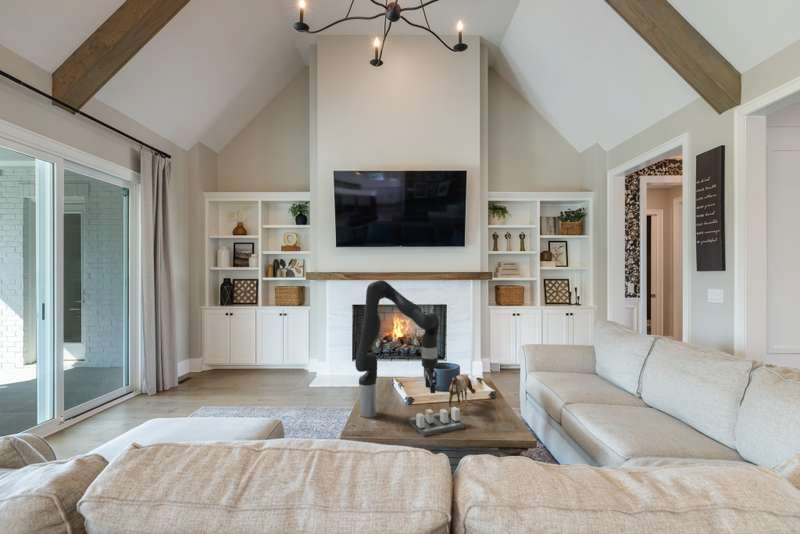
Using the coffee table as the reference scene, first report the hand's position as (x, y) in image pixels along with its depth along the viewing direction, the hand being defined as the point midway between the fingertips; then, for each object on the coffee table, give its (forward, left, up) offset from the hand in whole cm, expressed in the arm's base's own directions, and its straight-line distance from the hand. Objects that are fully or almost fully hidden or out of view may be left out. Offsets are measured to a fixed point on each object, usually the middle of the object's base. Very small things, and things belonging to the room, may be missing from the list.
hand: (430, 390), depth 192 cm
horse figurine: (-22, +32, -22) cm, 45 cm away
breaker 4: (-6, +17, -19) cm, 27 cm away
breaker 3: (-6, +10, -19) cm, 23 cm away
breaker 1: (-6, -2, -19) cm, 21 cm away
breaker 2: (-9, +4, -19) cm, 22 cm away
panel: (-9, +7, -22) cm, 25 cm away
